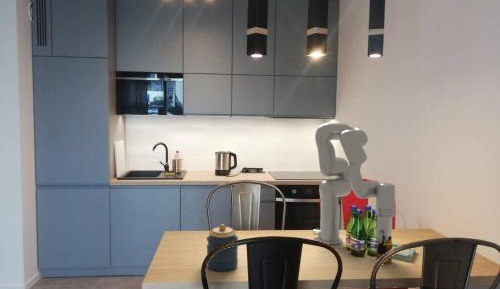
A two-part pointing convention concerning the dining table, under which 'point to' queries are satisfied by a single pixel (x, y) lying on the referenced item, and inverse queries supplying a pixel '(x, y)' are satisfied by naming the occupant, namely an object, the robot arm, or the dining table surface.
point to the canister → (225, 257)
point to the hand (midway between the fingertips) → (384, 251)
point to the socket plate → (403, 253)
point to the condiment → (388, 247)
